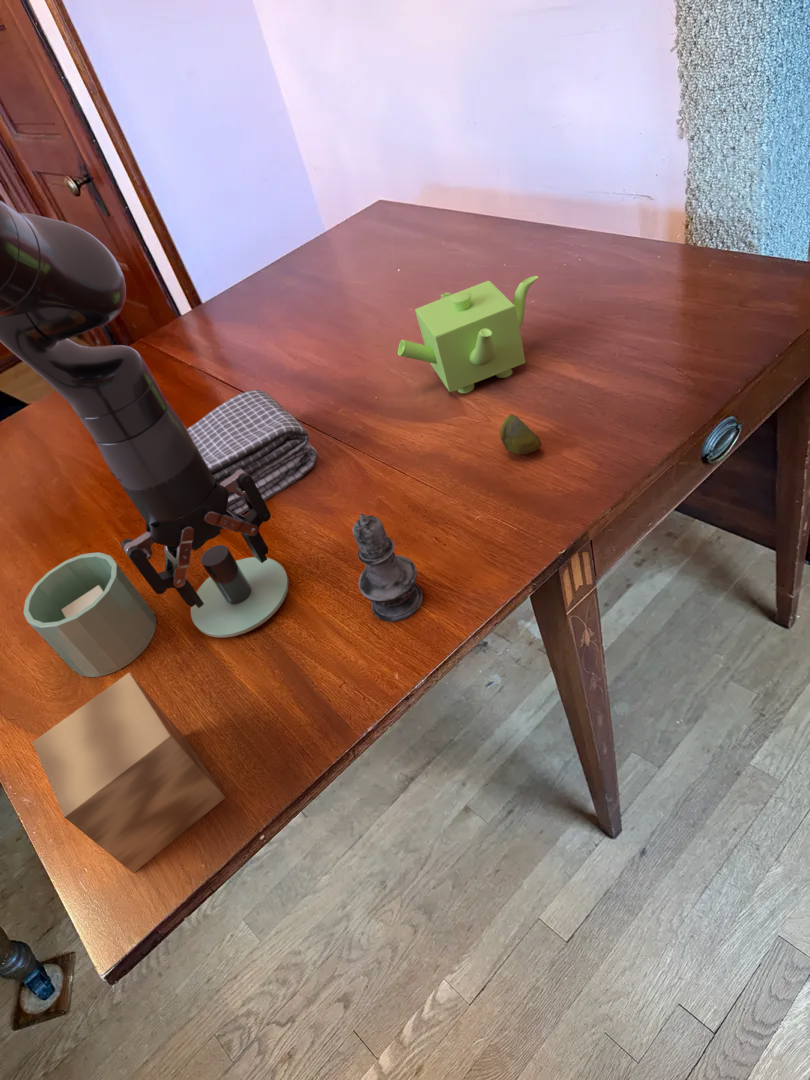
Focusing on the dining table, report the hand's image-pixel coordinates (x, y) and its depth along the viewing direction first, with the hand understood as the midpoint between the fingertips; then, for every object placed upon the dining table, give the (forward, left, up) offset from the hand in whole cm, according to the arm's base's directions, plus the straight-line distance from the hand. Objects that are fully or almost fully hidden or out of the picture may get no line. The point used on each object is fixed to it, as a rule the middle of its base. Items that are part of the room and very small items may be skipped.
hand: (230, 579), depth 78 cm
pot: (-13, +7, -3) cm, 15 cm away
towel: (+11, +20, -4) cm, 23 cm away
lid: (0, 0, -3) cm, 3 cm away
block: (-13, +7, -3) cm, 15 cm away
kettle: (+44, +9, -4) cm, 45 cm away
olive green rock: (+35, -8, -4) cm, 36 cm away
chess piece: (+11, -14, -4) cm, 18 cm away
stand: (-17, -15, -3) cm, 23 cm away
